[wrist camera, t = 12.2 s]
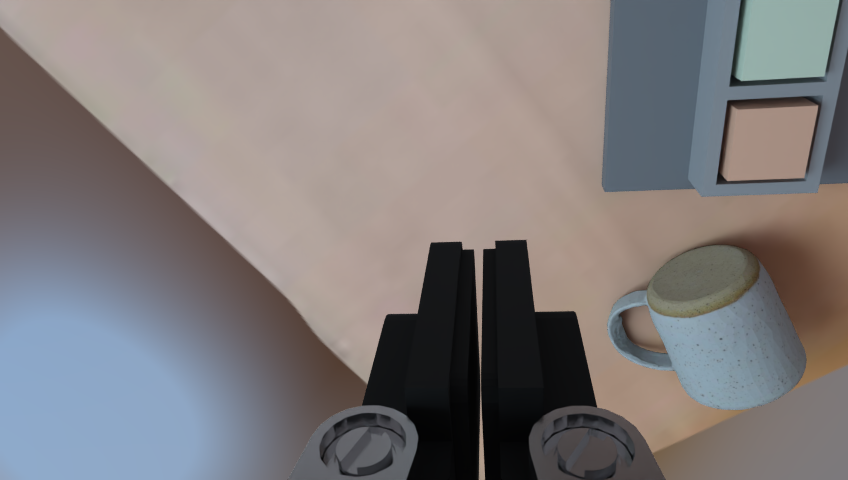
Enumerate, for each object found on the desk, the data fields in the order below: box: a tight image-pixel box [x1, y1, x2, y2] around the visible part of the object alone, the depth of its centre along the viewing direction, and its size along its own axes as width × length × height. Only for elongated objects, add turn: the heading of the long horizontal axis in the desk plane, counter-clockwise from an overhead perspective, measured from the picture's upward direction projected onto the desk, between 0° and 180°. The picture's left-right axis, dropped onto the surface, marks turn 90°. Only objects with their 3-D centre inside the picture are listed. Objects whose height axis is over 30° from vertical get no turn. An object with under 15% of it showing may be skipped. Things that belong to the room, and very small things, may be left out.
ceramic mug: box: [607, 245, 806, 410], centre depth 40 cm, size 11×8×8 cm
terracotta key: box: [718, 96, 818, 181], centre depth 35 cm, size 4×4×3 cm
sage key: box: [731, 0, 839, 81], centre depth 33 cm, size 4×4×3 cm
